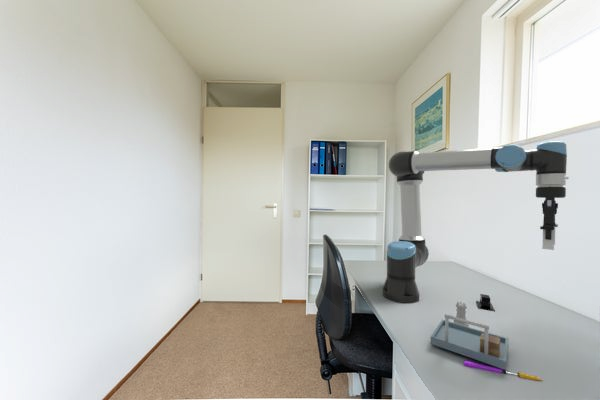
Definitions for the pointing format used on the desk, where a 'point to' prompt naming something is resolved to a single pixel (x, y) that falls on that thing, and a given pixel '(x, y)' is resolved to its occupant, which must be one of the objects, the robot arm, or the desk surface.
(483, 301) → the black piece
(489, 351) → the walnut block
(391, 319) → the desk surface
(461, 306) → the rook chess piece
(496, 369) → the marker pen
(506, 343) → the tray
